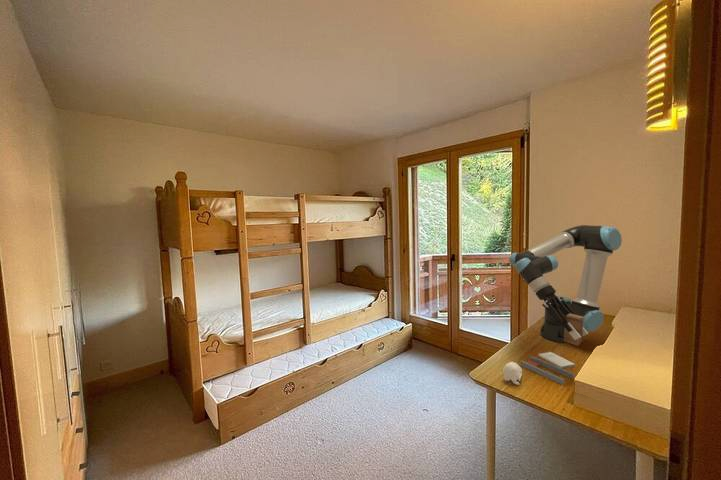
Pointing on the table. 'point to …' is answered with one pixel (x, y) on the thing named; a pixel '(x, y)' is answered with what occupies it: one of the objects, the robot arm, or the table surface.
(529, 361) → the pad
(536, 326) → the table surface
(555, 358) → the external hard drive
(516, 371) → the white figurine
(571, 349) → the table surface
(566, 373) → the channel
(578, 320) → the walnut block
